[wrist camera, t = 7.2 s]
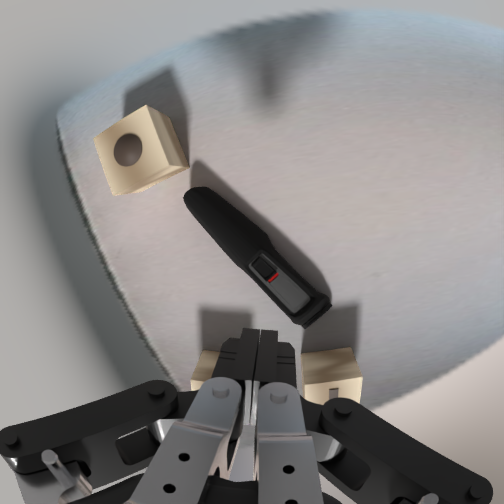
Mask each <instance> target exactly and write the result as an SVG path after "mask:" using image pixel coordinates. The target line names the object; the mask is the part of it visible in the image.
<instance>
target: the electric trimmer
mask: <svg viewBox="0 0 504 504" xmlns="http://www.w3.org/2000/svg"><path fill="white" fill-rule="evenodd" d="M183 199H184V202H185V204H186V206H187V208H188V209H189V211H190V212H191V213H192V215H193V216H194V217H195V218H196V219H197V221H198V222H199V223H200V224H201V225H202V226H203V228H204V229H205V230H206V231H207V232H208V233H209V235H210V236H211V237H212V238H213V239H214V240H215V241H216V243H217V244H218V245H219V246H220V247H221V248H222V249H223V251H224V252H225V253H226V254H227V255H228V256H229V257H230V258H231V259H232V261H233V262H234V263H235V264H236V265H237V266H239V267H240V268H241V269H242V270H243V271H245V272H246V273H247V274H248V275H249V276H250V277H251V278H252V279H253V280H254V281H255V282H256V283H257V284H258V285H259V286H260V287H261V289H262V290H263V291H264V292H265V293H266V294H267V295H268V296H269V297H270V298H271V299H272V300H273V301H274V302H275V303H276V304H277V306H278V307H279V308H280V309H281V310H282V311H283V312H284V313H285V314H286V315H287V316H288V317H289V318H290V319H291V320H292V322H293V323H295V324H298V325H302V327H303V328H304V329H306V328H307V327H309V326H310V325H311V324H312V323H313V322H315V321H316V320H317V319H318V318H320V317H321V316H322V315H323V314H324V313H325V312H327V311H328V310H329V309H330V308H331V307H332V304H331V303H330V302H329V297H328V296H327V295H325V294H321V293H319V292H317V291H316V290H315V289H314V288H313V287H312V286H311V285H310V284H309V283H308V282H307V281H306V280H304V279H303V278H302V277H301V276H300V275H299V274H298V273H297V272H296V271H295V270H294V269H293V268H292V267H291V266H290V265H289V264H288V263H287V262H286V261H285V260H284V258H283V257H282V256H281V255H280V254H279V253H278V252H277V251H276V250H275V248H274V247H273V245H272V243H271V241H270V239H269V237H268V236H267V234H266V233H265V232H263V231H262V230H261V229H260V228H259V227H258V226H257V225H256V224H254V223H253V222H252V221H251V220H249V219H248V218H247V217H246V216H244V215H243V214H242V213H241V212H239V211H238V210H237V209H236V208H234V207H233V206H232V205H231V204H229V203H228V202H227V201H226V200H224V199H223V198H222V197H221V196H219V195H218V194H217V193H216V192H214V191H213V190H211V189H210V188H208V187H194V188H191V189H190V190H188V191H187V192H186V193H185V195H184V197H183Z"/></svg>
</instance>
